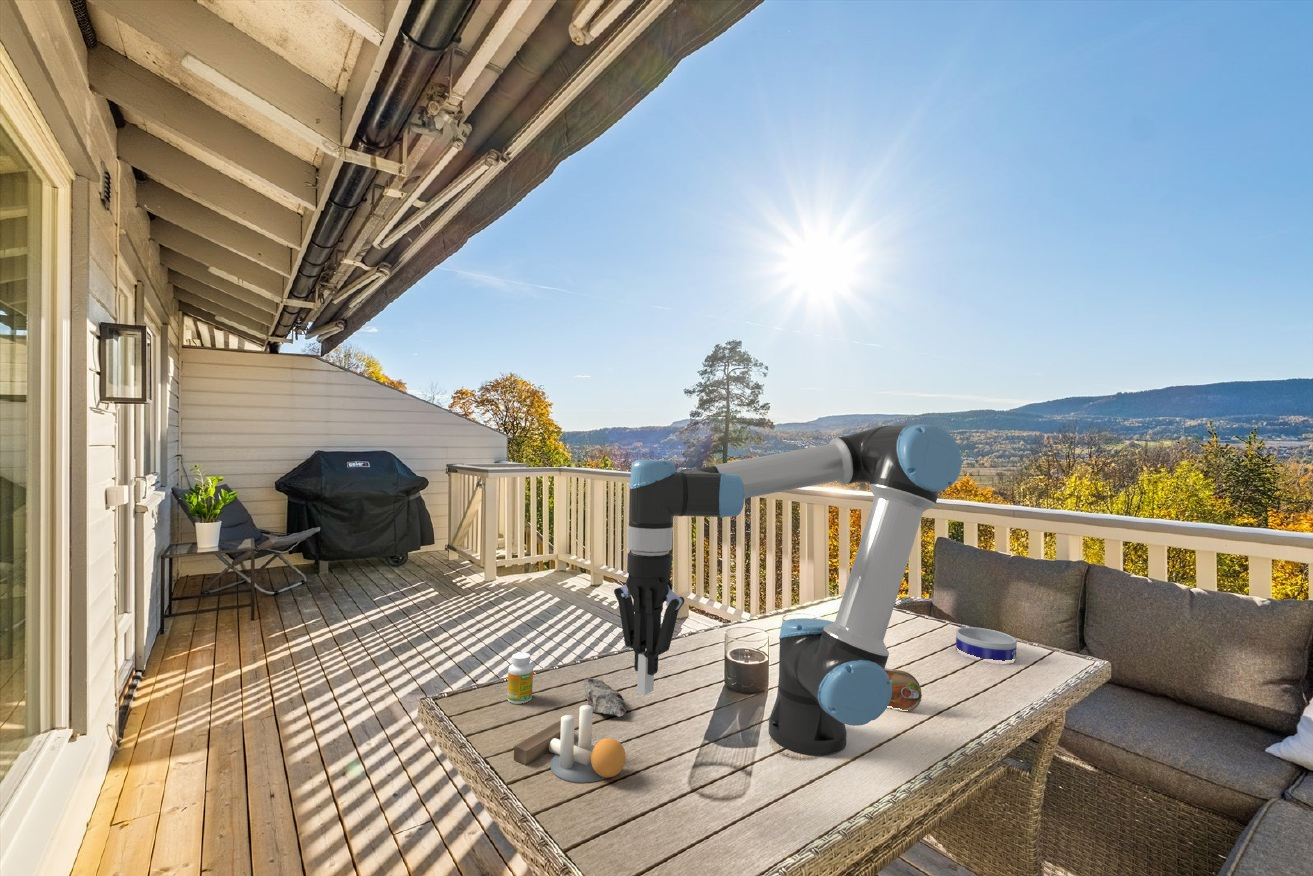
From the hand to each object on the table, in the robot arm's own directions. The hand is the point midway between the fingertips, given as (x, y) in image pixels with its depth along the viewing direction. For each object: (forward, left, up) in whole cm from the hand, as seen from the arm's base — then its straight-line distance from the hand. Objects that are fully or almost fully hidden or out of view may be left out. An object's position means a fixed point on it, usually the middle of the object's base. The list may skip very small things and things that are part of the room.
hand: (645, 692), depth 98 cm
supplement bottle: (+41, -12, -16) cm, 46 cm away
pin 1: (+14, +2, -16) cm, 22 cm away
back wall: (+22, 0, -16) cm, 27 cm away
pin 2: (+14, -2, -16) cm, 22 cm away
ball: (+7, 0, -13) cm, 15 cm away
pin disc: (+12, 0, -16) cm, 20 cm away
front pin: (+12, 0, -15) cm, 19 cm away
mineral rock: (+24, -20, -16) cm, 35 cm away
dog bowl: (-44, -113, -16) cm, 122 cm away
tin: (-27, -59, -16) cm, 67 cm away
